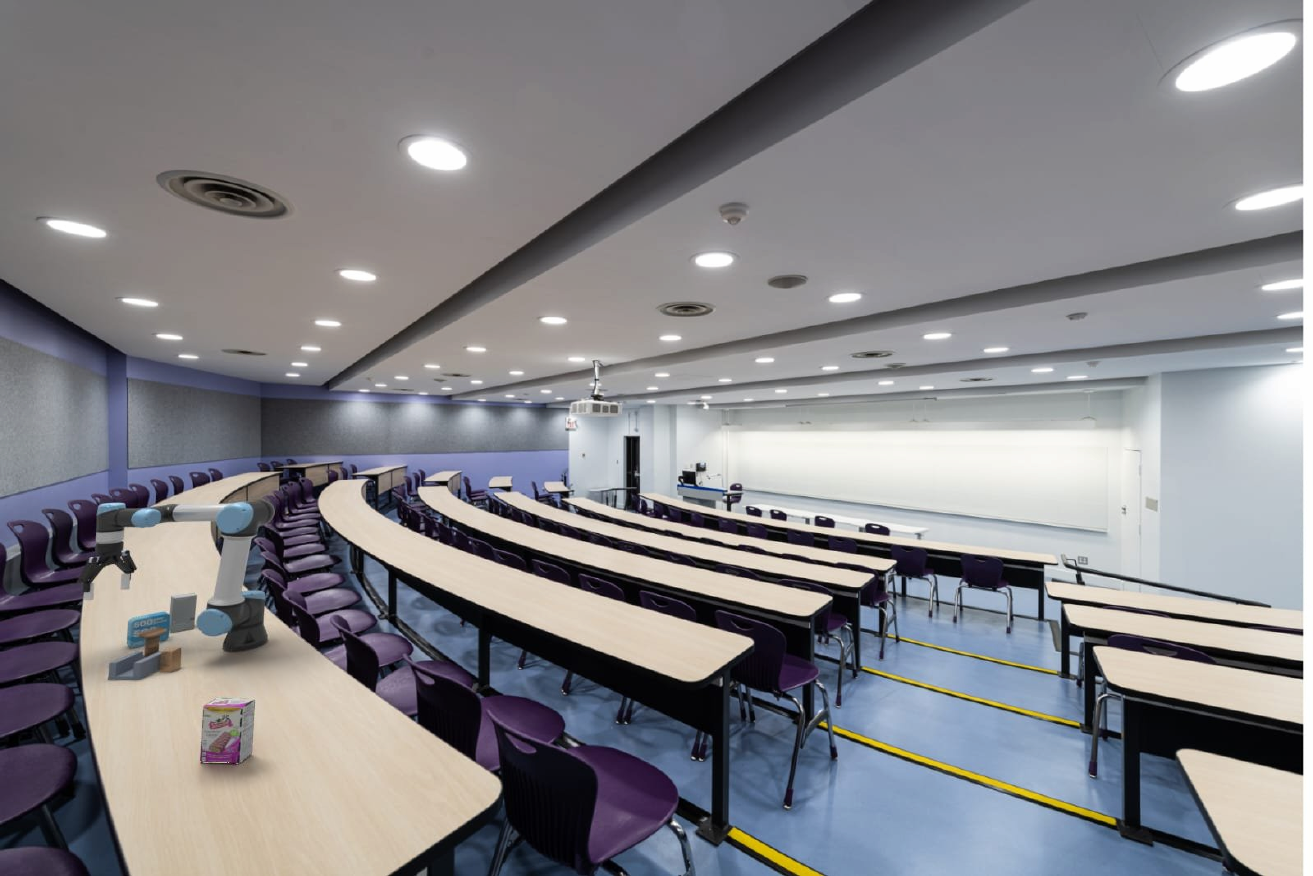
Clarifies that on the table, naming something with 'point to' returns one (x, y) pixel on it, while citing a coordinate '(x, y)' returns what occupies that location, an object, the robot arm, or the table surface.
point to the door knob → (152, 640)
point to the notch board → (134, 666)
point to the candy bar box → (227, 730)
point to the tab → (170, 659)
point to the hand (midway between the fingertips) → (107, 594)
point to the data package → (146, 627)
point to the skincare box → (182, 612)
